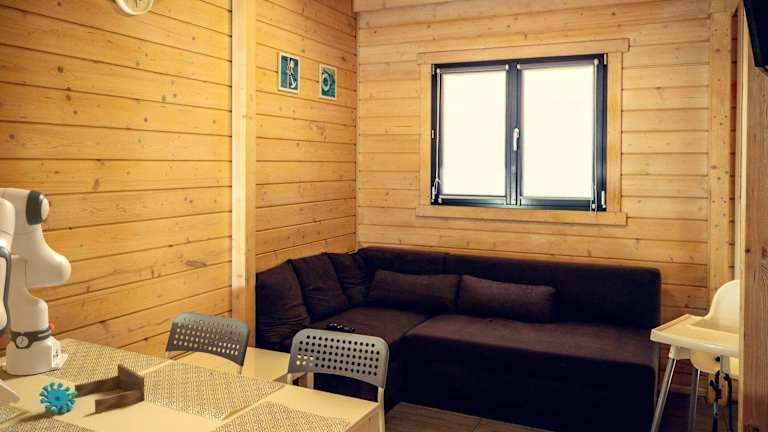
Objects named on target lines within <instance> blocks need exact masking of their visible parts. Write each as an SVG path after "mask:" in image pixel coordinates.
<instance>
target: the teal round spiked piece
mask: <svg viewBox="0 0 768 432" xmlns="http://www.w3.org/2000/svg"><path fill="white" fill-rule="evenodd" d="M55 385H56V383H55V382H50V383H49V384H47V385H44V386H43V387H42V390H41V391H40V393H39V394H38V395H39V397H42V398H41V399H40V400H39V402H40V404H42V405H43V404H46V405H45V406H44V409H45V410H46V411H49V410H51V409H52V408H53V407H54V408H53V409H52V410H51V413H53V414H54V415H57V413H58V412H59V409H61V410H60V414H63V415H64V414H66V412H67V411H69V412H70V411H72V410H73V409H74V407H73V406H74V404H75V403H76V400H75V399H74V398H75V395H76V394H77V391H75V390H74V391H73V392H70V391H71V388H70V386H68V385H67V386H66V387H65V388H63V389H61V388H62V387H64V383H62V382H58V383H57V387H56V388H54V387H55ZM49 388H50V390H49Z"/></svg>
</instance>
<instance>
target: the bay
mask: <svg viewBox="0 0 768 432" xmlns="http://www.w3.org/2000/svg"><path fill="white" fill-rule="evenodd" d="M118 388H120V389H122V390H123V391H124V392H121V393H117V394H113V395H109V396H104V397H100V398H96V399H94V412H95V413H101V412H104V411H108V410H112V409H116V408H120V407H124V406H127V405H131V404H132V405H133V404H135V403H139V402H143V401H144V402H145V377H144V376H142V375H141V374H139V373H138V372H135V371H134V370H132V369H130V368H128V367H127V366H125V365H123V364H121V363H120V364H117V375H115V376H110V377H105V378H100V379H96V380H91V381H87V382H86V381H85V382H82V383H77V384H74V391H77V394H76V395H75V396H74V398H78V397H79V398H80V397H83V396H87V395H91V394H95V393H100V392H104V391H107V390H112V389H113V390H114V389H118Z"/></svg>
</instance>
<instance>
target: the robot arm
mask: <svg viewBox="0 0 768 432" xmlns="http://www.w3.org/2000/svg"><path fill="white" fill-rule="evenodd" d="M49 211H50V204H49V199H48V196H46V195H45V194H44V193H43V192H42V191H38V190H34V189H32V190H30V189H23V188H17V187H0V340H1V339H2V338H3V337H5V335H6V334H8V332H9V341H10V342H9V343H8V344H7V345H6V351H5V352H6V353H5V354H6V355H5V364H4V365H2V367H1V370H2V371H5V372H6V373H8V375H9V374H10V375H12V376H31V375H36V374H43V373H46V372H50V371H54V370H55V371H56V370H60V369H61V368H62V367H63V365H64V364H65V362H66V360H67V359H68V358H69V354H68V353H66V352H62V350H61V349H62V347H61V346H62V345H61V342H60V341H59V340H57V339H56V338H54V337H53V336H52V331H53V330H54V327H55V326H54V324H53V323H49V306H48V304H47V302H46V301H45V300H43V299H42V298H39V297H38V296H37V297H36V296H34V295H32V294H31V293H30V292H29V291H28V289H29V288H48V287H55V286H59V285H62V284H65V283H66V282H67V281H68V280H69V278H70V275H71V273H72V266H71V264H70V261H69V260H68V259H67V258H66V257H65V255H63V254H60V253H57V252H56V251H55V250H53V249H52V248H51V247H50V246H49V245H48V243H47V242H46V241H45V238H44V234H43V229H42V228H43V227H42V223H44V222H45V221H46V220H47V217H48V216H49V215H48V214H49ZM11 254H13V255H11ZM20 400H21V397H19V396H18V393H16V392H15V391H14V390H13V389H12V388H11V387H10V386H9V385H7V384H6V382H5V381H3V380H2V379H1V378H0V403H1V404H2V405H5V406H9V405H10V404H11V403H13V404H15V405H16V404H18V402H20Z"/></svg>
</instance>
